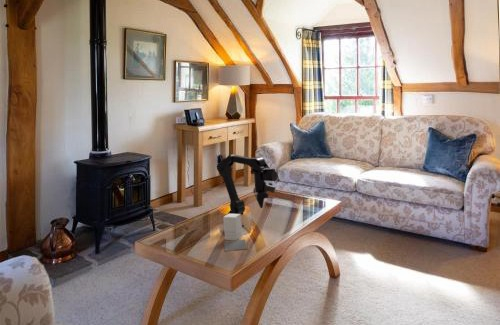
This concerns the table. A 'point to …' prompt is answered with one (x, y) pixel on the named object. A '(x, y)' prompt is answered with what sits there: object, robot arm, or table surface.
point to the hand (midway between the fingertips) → (261, 207)
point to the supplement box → (232, 226)
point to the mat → (235, 245)
